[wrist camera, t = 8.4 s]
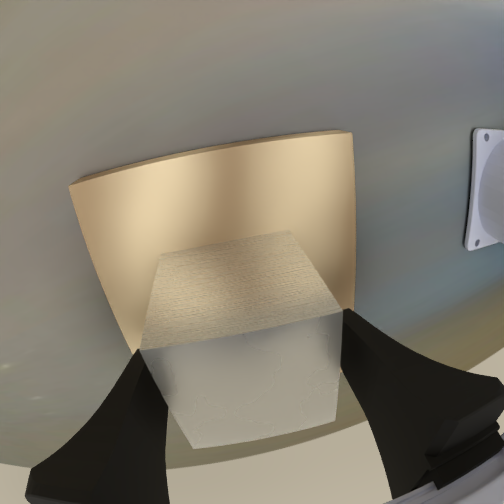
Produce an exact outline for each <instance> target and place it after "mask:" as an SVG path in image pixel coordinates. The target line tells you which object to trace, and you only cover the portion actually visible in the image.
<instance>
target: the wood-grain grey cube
mask: <svg viewBox="0 0 504 504" xmlns="http://www.w3.org/2000/svg"><path fill="white" fill-rule="evenodd" d="M342 323H343V310H342V309H341V307H340V306H339V304H338V303H337V301H336V299H335V298H334V296H333V295H332V293H331V292H330V290H329V289H328V287H327V286H326V284H325V283H324V281H323V280H322V278H321V277H320V275H319V273H318V272H317V270H316V269H315V267H314V266H313V264H312V263H311V261H310V260H309V258H308V257H307V255H306V254H305V253H304V251H303V250H302V248H301V247H300V245H299V244H298V242H297V241H296V239H295V238H294V236H293V235H292V233H291V232H290V230H284V231H279V232H274V233H268V234H263V235H257V236H252V237H247V238H241V239H236V240H231V241H226V242H220V243H215V244H210V245H205V246H200V247H194V248H189V249H184V250H179V251H174V252H169V253H164V254H160V258H159V262H158V266H157V271H156V275H155V279H154V283H153V287H152V292H151V296H150V301H149V305H148V310H147V314H146V319H145V324H144V329H143V334H142V339H141V344H140V350H139V351H140V353H141V355H142V357H143V359H144V361H145V363H146V365H147V367H148V369H149V371H150V373H151V375H152V377H153V379H154V381H155V383H156V385H157V387H158V388H159V390H160V392H161V394H162V396H163V398H164V400H165V401H166V403H167V405H168V407H169V409H170V410H171V412H172V414H173V416H174V417H175V419H176V421H177V423H178V424H179V426H180V428H181V429H182V431H183V433H184V434H185V436H186V438H187V439H188V441H189V442H190V444H191V446H192V447H193V449H197V448H206V447H214V446H221V445H228V444H235V443H241V442H247V441H252V440H258V439H263V438H268V437H273V436H277V435H282V434H286V433H291V432H295V431H299V430H303V429H307V428H311V427H315V426H318V425H322V424H326V423H329V422H333V421H335V417H336V408H337V398H338V386H339V374H340V360H341V344H342Z"/></svg>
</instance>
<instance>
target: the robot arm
mask: <svg viewBox="0 0 504 504" xmlns="http://www.w3.org/2000/svg"><path fill="white" fill-rule="evenodd" d="M484 135H485V138H484ZM498 242H501V243H502V244H504V130H498V129H484V128H477V129H475V130H474V133H473V162H472V182H471V195H470V206H469V215H468V223H467V231H466V238H465V248H466V249H467V250H469V251H472V250H476V249H479V248H482V247H485V246H489V245H492V244H495V243H498ZM139 350H140V348H139V349H137V350H136V352H135V353H134V355H133V356H132V358H131V359H130V361H129V363H128V364H127V366H126V368H125V369H124V371H123V373H122V374H121V376H120V377H119V379H118V381H117V382H116V384H115V385H114V387H113V388H112V390H111V391H110V393H109V394H108V396H107V397H106V399H105V400H104V401H103V403H102V404H101V406H100V407H99V408H98V410H97V411H96V412H95V413H94V415H93V416H92V417H91V418H90V419H89V421H88V422H87V423H86V424H85V425H84V426H83V427H82V428H81V429H80V430H79V431H78V432H77V433H76V434H75V435H74V436H73V437H72V438H71V439H70V440H69V441H68V442H67V443H66V444H65V445H63V446H62V447H61V448H60V449H59V450H57V451H56V452H55V453H54V454H52V455H51V456H50V457H48V458H47V459H45V460H44V461H42V462H41V463H40V464H38V465H37V466H35V467H33V468H32V469H31V471H30V475H29V479H28V483H27V488H26V493H25V497H26V499H27V501H28V502H30V503H31V504H170V502H169V495H168V486H167V477H166V463H165V446H166V431H167V418H168V405H167V403H166V401H165V400H164V398H163V396H162V394H161V392H160V390H159V388H158V387H157V385H156V383H155V381H154V379H153V377H152V375H151V373H150V371H149V369H148V367H147V365H146V363H145V361H144V359H143V357H142V355H141V353H140V351H139ZM340 367H341V370H342V372H343V373H344V375H345V377H346V379H347V381H348V383H349V385H350V387H351V388H352V390H353V392H354V394H355V396H356V398H357V400H358V401H359V403H360V405H361V407H362V409H363V411H364V413H365V415H366V417H367V419H368V421H369V425H370V427H371V430H372V432H373V435H374V438H375V441H376V443H377V446H378V449H379V452H380V455H381V458H382V462H383V465H384V468H385V472H386V475H387V479H388V482H389V487H390V490H391V495H392V499H393V500H391V501H389V502H386V503H384V504H503V503H504V433H503V434H502V435H501V436H500V435H499V433H498V430H499V428H500V426H499V424H498V423H497V421H496V420H497V419H498V417H499V416H500V415H501V413H502V412H503V410H504V385H503V384H502V383H501V382H500V380H499V379H498V378H496V377H490V376H484V375H479V374H474V373H470V372H466V371H462V370H459V369H456V368H452V367H449V366H447V365H444V364H441V363H439V362H436V361H434V360H431V359H429V358H427V357H425V356H423V355H421V354H419V353H416V352H414V351H413V350H411V349H409V348H407V347H405V346H404V345H402V344H400V343H399V342H397V341H395V340H394V339H392V338H390V337H389V336H387V335H386V334H384V333H383V332H381V331H380V330H379V329H377V328H376V327H374V326H373V325H372V324H370V323H369V322H367V321H366V320H365V319H363V318H362V317H361V316H359V315H358V314H357V313H355V312H354V311H352V310H351V309H350V308H347V309H343V323H342V344H341V360H340Z"/></svg>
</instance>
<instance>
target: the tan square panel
mask: <svg viewBox="0 0 504 504" xmlns="http://www.w3.org/2000/svg"><path fill="white" fill-rule="evenodd" d="M68 187H69V190H70V194H71V198H72V201H73V204H74V208H75V211H76V214H77V218H78V221H79V224H80V227H81V230H82V233H83V236H84V239H85V242H86V245H87V248H88V250H89V253H90V256H91V259H92V261H93V264H94V267H95V269H96V272H97V275H98V277H99V280H100V282H101V285H102V287H103V290H104V292H105V295H106V297H107V299H108V302H109V304H110V307H111V309H112V311H113V313H114V316H115V318H116V320H117V322H118V325H119V327H120V329H121V331H122V333H123V335H124V338H125V340H126V342H127V344H128V346H129V348H130V350H131V352H132V354H133V355H134V353H135V352H136V350H137V349H139V348H140V344H141V339H142V334H143V329H144V324H145V319H146V314H147V310H148V305H149V301H150V296H151V292H152V287H153V283H154V279H155V275H156V271H157V266H158V262H159V258H160V254H164V253H169V252H174V251H179V250H184V249H189V248H194V247H200V246H205V245H210V244H215V243H220V242H226V241H231V240H236V239H241V238H247V237H252V236H257V235H263V234H268V233H274V232H279V231H284V230H290V232H291V233H292V235H293V236H294V238H295V239H296V241H297V242H298V244H299V245H300V247H301V248H302V250H303V251H304V253H305V254H306V255H307V257H308V258H309V260H310V261H311V263H312V264H313V266H314V267H315V269H316V270H317V272H318V273H319V275H320V277H321V278H322V280H323V281H324V283H325V284H326V286H327V287H328V289H329V290H330V292H331V293H332V295H333V296H334V298H335V299H336V301H337V303H338V304H339V306H340V307H341V309H342V310H343V309H347V308H350V309H351V310H352V311H354V298H355V271H356V199H355V172H354V154H353V139H352V133H351V132H346V131H341V130H331V131H320V132H310V133H300V134H291V135H283V136H275V137H268V138H261V139H254V140H247V141H241V142H235V143H229V144H223V145H217V146H212V147H206V148H201V149H196V150H191V151H186V152H181V153H177V154H172V155H167V156H163V157H158V158H154V159H150V160H146V161H142V162H138V163H134V164H130V165H126V166H122V167H118V168H114V169H111V170H107V171H103V172H100V173H96V174H93V175H90V176H86V177H83V178H80V179H78V180H77V181H75V182H74V183H72V184H71V185H69V186H68ZM341 372H342V370H341V367H340V373H341Z"/></svg>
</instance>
